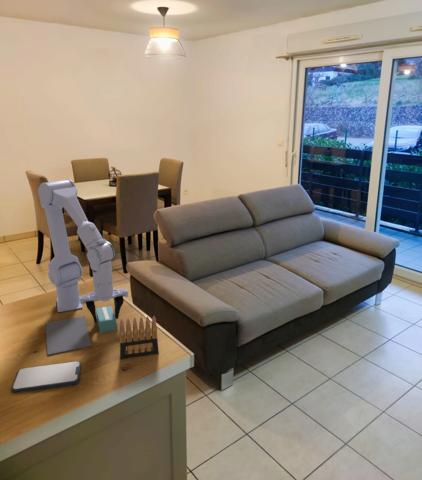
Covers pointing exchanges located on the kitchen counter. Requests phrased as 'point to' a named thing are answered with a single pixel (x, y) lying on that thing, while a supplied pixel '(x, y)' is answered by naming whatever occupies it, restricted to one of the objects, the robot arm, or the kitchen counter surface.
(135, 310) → the kitchen counter surface
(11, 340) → the kitchen counter surface
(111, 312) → the card box
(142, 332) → the ammunition clip
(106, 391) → the kitchen counter surface
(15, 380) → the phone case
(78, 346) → the mat
